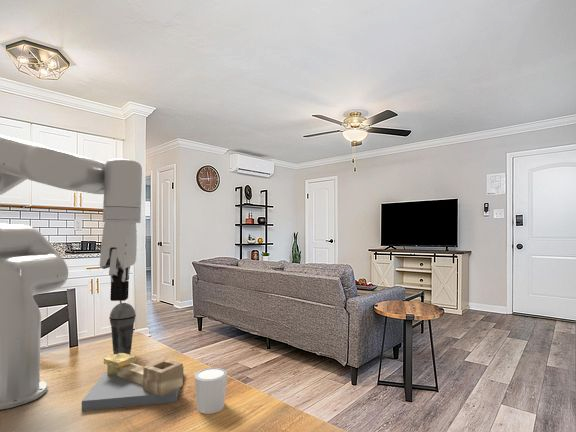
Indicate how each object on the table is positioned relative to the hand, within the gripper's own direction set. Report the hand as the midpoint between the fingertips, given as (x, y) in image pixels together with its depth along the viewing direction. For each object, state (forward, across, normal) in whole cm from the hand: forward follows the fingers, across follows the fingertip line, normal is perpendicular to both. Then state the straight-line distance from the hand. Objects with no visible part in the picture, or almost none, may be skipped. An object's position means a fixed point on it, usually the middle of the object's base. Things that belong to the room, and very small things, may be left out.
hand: (119, 299), depth 76 cm
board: (+22, -6, +3) cm, 24 cm away
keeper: (+23, -11, -3) cm, 25 cm away
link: (+20, -6, +5) cm, 22 cm away
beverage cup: (+23, -31, -8) cm, 39 cm away
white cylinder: (+22, +4, +20) cm, 31 cm away
